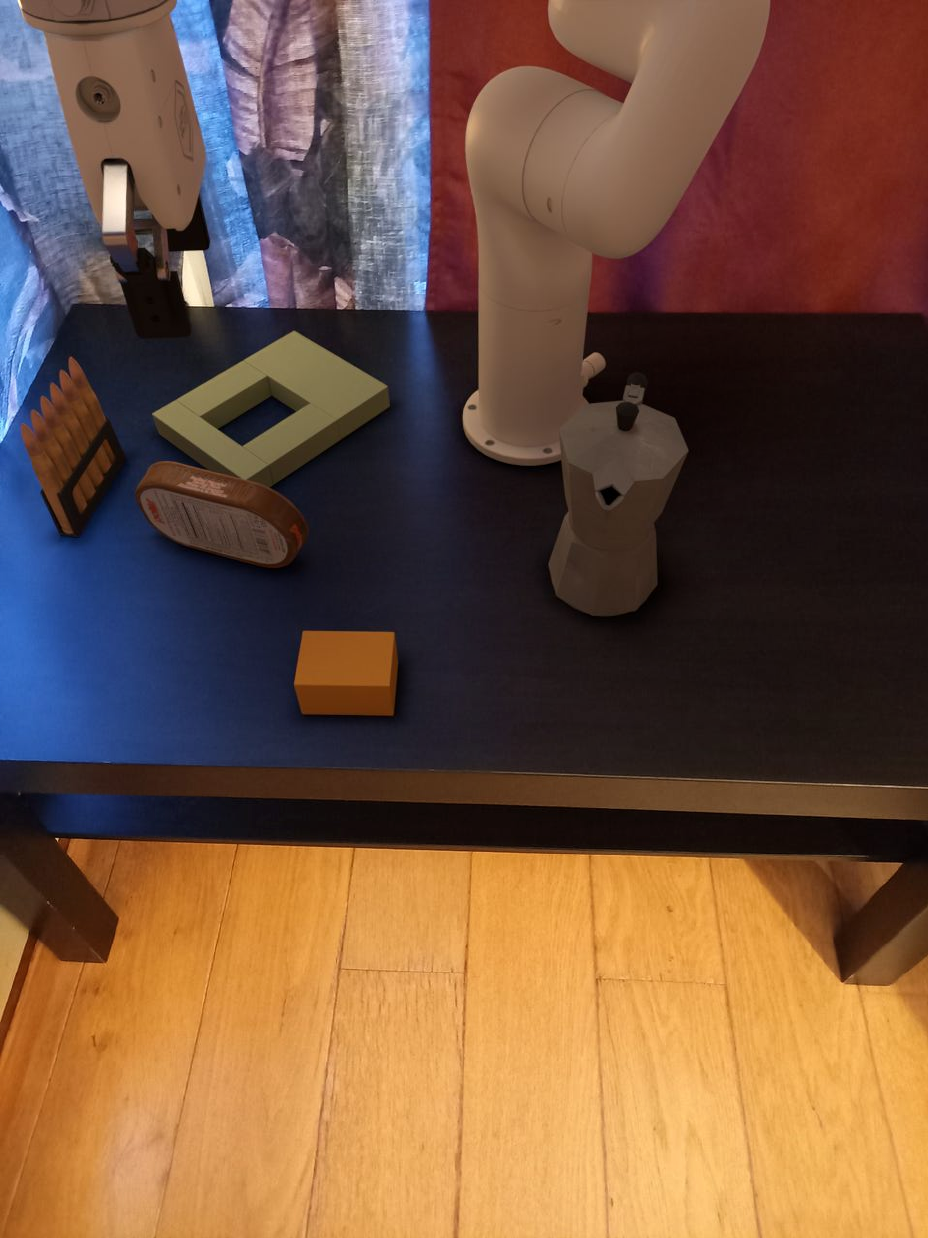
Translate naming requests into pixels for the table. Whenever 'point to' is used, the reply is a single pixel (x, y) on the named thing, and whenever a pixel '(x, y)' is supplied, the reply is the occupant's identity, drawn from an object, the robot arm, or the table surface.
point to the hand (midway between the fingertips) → (176, 289)
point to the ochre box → (347, 673)
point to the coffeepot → (614, 501)
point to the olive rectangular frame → (295, 376)
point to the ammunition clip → (72, 451)
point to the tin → (221, 514)
